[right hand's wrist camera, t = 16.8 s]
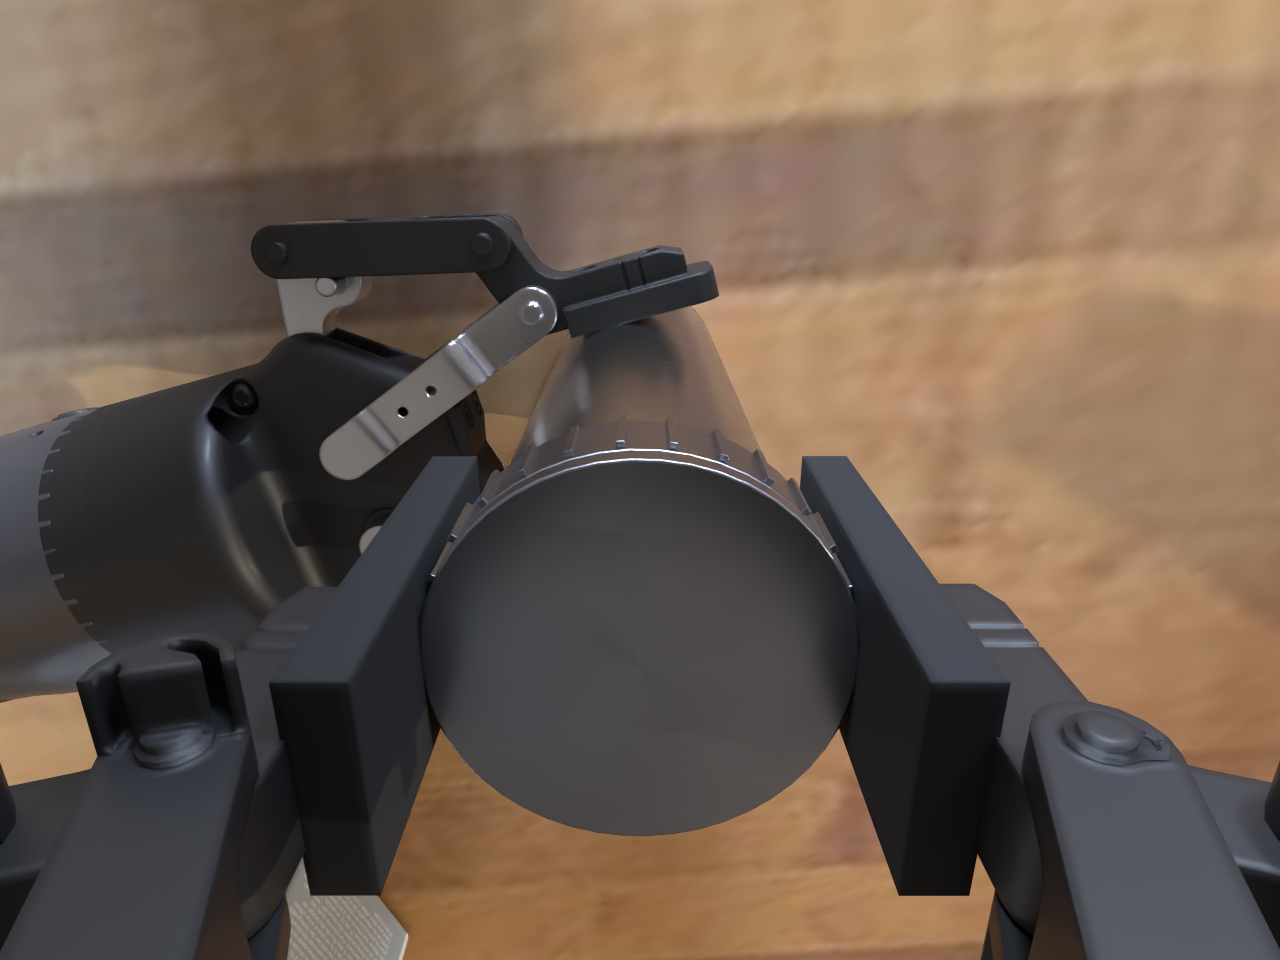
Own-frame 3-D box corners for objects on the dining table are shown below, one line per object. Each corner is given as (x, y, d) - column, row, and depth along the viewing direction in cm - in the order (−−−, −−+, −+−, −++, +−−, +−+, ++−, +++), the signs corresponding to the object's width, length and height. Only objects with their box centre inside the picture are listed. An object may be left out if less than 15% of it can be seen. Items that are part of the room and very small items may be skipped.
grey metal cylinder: (701, 271, 26) (799, 428, 10) (724, 418, 27) (839, 752, 12) (548, 300, 26) (409, 498, 10) (581, 444, 28) (505, 803, 12)
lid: (383, 674, 12) (347, 745, 11) (544, 339, 10) (528, 367, 9) (714, 812, 13) (724, 894, 12) (915, 527, 11) (957, 580, 10)
